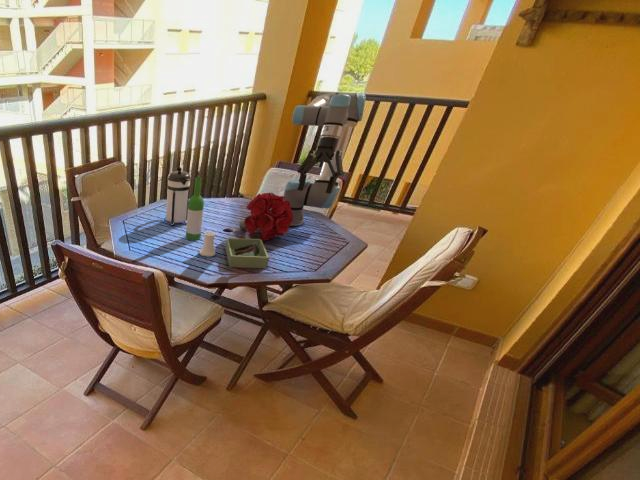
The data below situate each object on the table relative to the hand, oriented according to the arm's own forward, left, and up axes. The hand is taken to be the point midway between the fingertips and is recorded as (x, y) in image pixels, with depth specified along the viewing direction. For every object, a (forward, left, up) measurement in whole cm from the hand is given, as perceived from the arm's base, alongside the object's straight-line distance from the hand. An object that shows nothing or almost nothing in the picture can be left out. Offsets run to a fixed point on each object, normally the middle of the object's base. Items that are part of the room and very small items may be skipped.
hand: (313, 191), depth 169 cm
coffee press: (-40, -60, -29) cm, 78 cm away
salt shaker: (-51, -10, -29) cm, 60 cm away
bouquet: (-21, -14, -29) cm, 39 cm away
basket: (+7, -26, -29) cm, 39 cm away
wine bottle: (-16, -50, -29) cm, 60 cm away
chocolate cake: (+7, -26, -29) cm, 39 cm away
